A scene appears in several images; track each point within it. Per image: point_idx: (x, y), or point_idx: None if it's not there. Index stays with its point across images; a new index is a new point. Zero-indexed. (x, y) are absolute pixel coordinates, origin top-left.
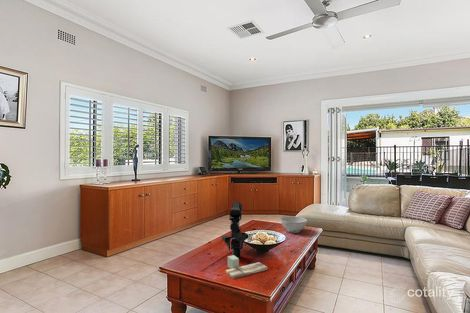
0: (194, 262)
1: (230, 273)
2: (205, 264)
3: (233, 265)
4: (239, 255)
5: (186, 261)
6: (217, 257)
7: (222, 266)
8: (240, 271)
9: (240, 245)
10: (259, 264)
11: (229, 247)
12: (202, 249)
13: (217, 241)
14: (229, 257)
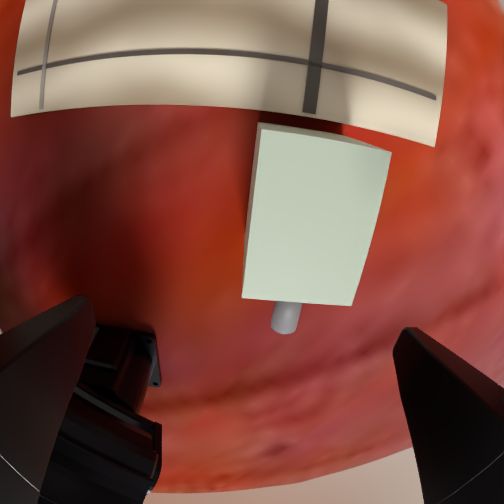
0: None
1: (440, 58)
2: None
3: (345, 137)
4: (105, 335)
5: None
6: (269, 406)
7: None
8: (330, 10)
9: (68, 361)
10: (38, 58)
11: (468, 370)
12: (270, 479)
13: None
14: (358, 262)
